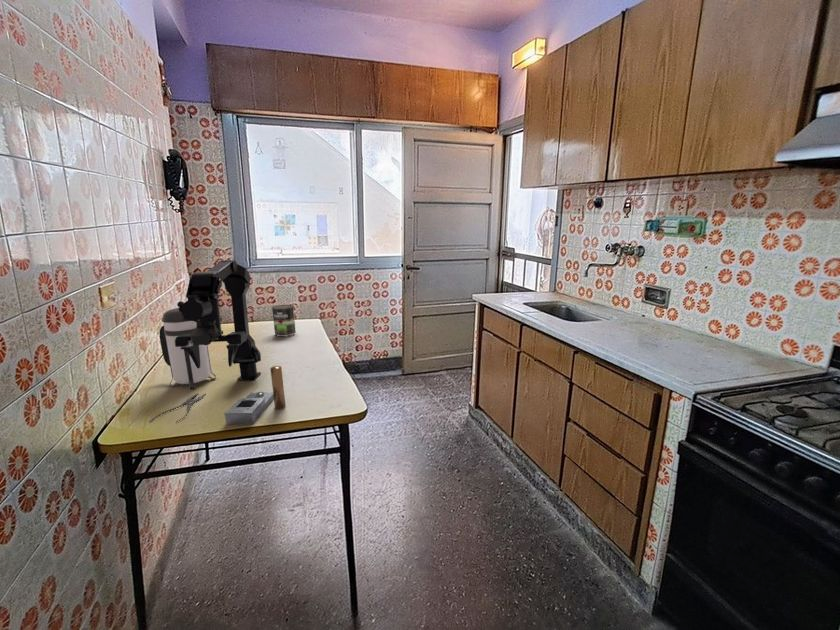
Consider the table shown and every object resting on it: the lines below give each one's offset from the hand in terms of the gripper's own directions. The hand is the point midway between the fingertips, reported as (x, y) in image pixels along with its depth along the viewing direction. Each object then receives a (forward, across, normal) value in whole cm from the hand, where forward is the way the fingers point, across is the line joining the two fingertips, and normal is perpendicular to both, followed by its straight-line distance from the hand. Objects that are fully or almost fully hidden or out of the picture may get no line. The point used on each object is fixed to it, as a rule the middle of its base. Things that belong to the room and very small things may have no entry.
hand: (214, 367), depth 126 cm
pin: (+14, +18, +2) cm, 23 cm away
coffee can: (+6, 0, +86) cm, 86 cm away
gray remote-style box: (+14, +9, +1) cm, 17 cm away
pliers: (+14, -14, +5) cm, 21 cm away
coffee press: (+12, -20, +26) cm, 36 cm away
